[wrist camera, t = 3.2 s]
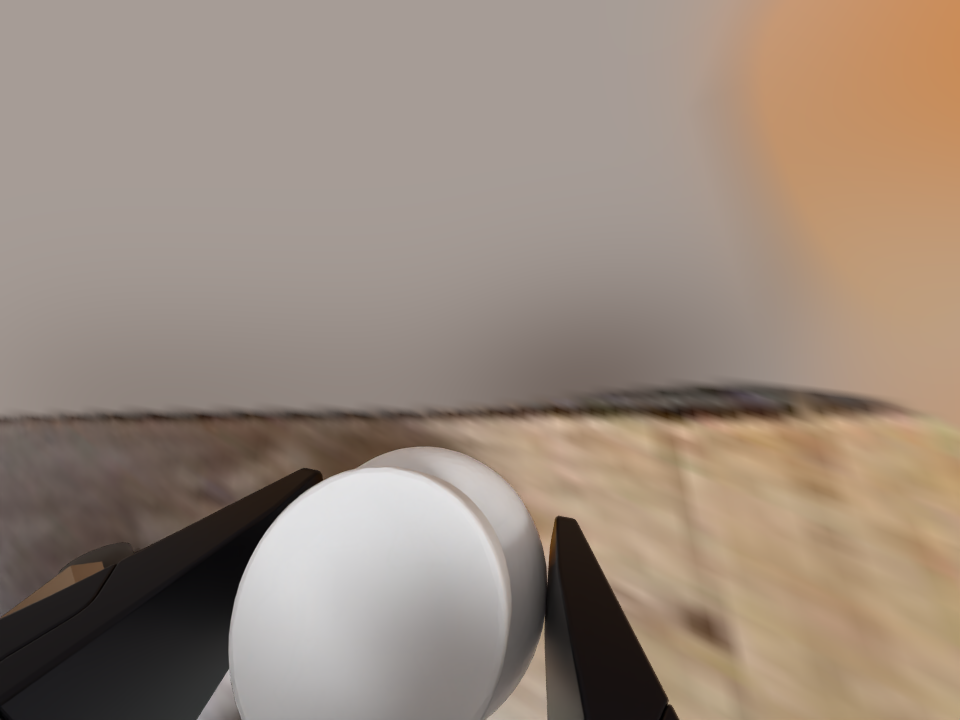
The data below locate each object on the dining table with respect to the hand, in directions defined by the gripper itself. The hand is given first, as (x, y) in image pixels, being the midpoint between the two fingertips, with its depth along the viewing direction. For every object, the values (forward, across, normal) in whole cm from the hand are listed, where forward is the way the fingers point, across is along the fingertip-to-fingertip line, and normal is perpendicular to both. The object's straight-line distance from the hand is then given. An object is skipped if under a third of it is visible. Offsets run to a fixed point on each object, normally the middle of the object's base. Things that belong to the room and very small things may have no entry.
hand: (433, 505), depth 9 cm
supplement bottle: (+4, 0, +6) cm, 7 cm away
